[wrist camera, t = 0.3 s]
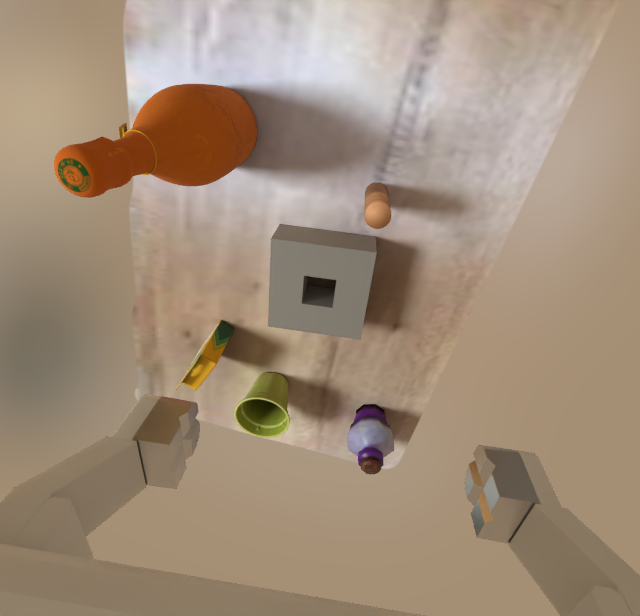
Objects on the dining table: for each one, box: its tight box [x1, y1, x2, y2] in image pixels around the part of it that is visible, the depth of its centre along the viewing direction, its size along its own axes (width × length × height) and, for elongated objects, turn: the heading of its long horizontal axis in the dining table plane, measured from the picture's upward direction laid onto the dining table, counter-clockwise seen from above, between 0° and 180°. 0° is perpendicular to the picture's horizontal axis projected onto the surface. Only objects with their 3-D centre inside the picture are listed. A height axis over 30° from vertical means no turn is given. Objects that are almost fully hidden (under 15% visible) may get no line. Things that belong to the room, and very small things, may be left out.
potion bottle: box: [347, 404, 394, 474], centre depth 68 cm, size 9×9×12 cm
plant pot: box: [234, 372, 290, 438], centre depth 68 cm, size 9×9×9 cm
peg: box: [365, 183, 391, 229], centre depth 48 cm, size 3×3×10 cm
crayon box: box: [176, 320, 234, 390], centre depth 63 cm, size 7×3×12 cm, turn 143°
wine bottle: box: [54, 84, 257, 197], centre depth 37 cm, size 10×10×30 cm
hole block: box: [268, 224, 377, 339], centre depth 57 cm, size 14×14×6 cm
